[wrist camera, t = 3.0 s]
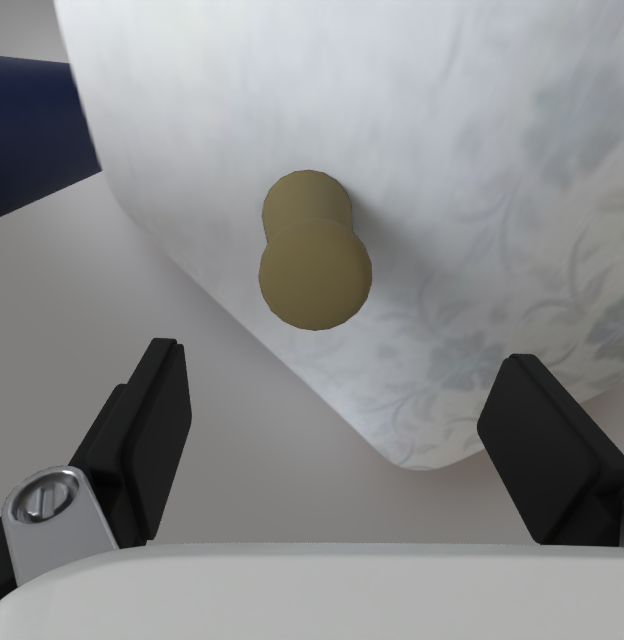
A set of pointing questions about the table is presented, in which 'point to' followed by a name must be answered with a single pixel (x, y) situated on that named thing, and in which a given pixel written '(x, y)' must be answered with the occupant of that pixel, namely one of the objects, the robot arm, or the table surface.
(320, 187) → the pepper shaker
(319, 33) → the table surface
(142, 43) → the table surface
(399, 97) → the table surface
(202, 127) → the table surface
